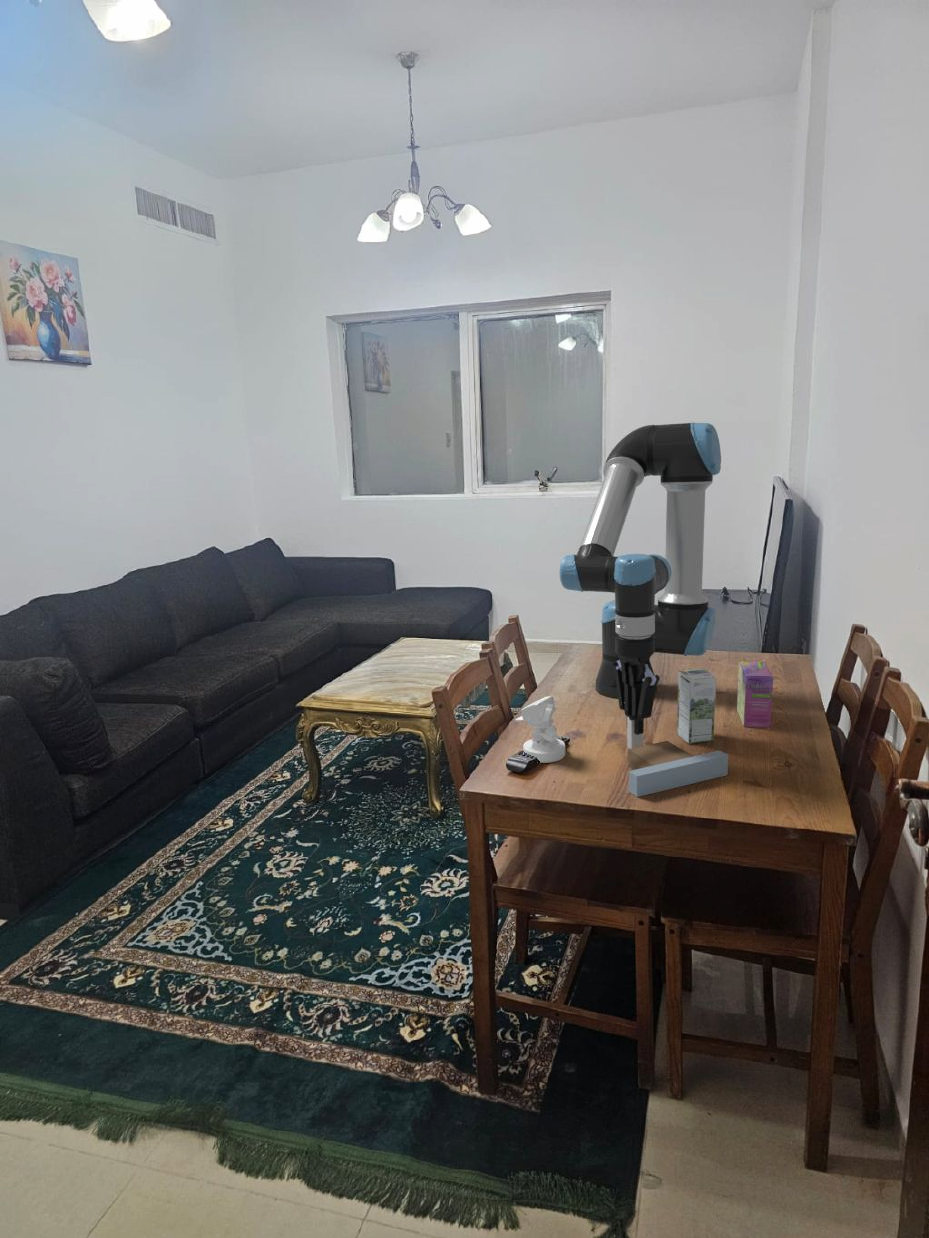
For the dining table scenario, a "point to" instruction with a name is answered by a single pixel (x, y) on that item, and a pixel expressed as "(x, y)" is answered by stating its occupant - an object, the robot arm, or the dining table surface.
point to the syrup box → (696, 705)
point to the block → (655, 755)
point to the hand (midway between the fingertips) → (635, 746)
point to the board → (678, 773)
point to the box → (754, 694)
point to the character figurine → (542, 731)
